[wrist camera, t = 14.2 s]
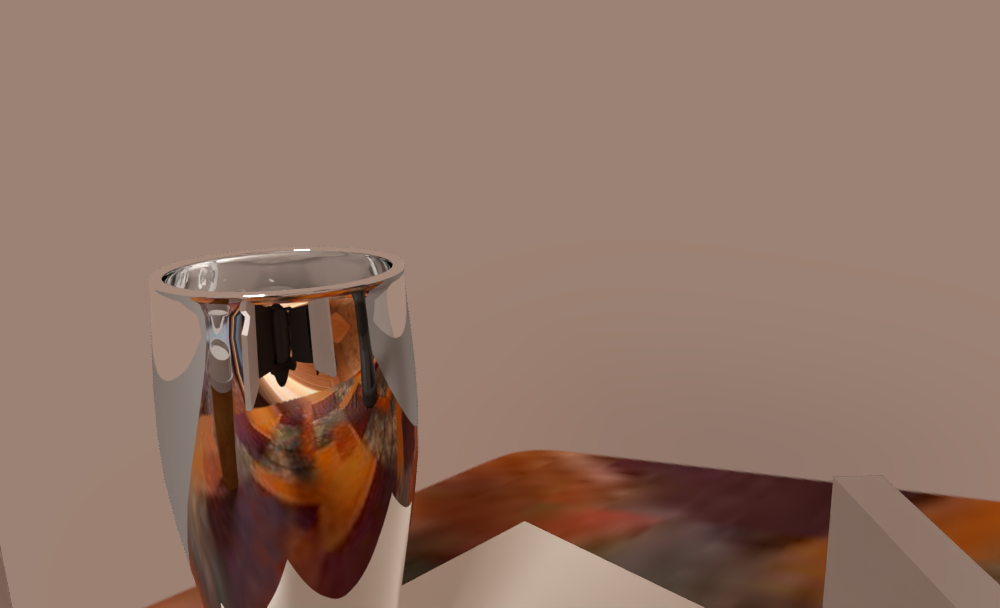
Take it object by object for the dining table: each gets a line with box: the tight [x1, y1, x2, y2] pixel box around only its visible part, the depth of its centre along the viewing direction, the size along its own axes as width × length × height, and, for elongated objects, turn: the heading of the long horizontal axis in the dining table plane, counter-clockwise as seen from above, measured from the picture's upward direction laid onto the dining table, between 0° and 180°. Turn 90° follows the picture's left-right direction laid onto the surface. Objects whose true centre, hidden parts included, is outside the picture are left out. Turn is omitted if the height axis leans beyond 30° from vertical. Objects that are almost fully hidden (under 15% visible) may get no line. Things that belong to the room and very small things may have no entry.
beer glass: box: [148, 247, 418, 608], centre depth 23 cm, size 7×7×15 cm
